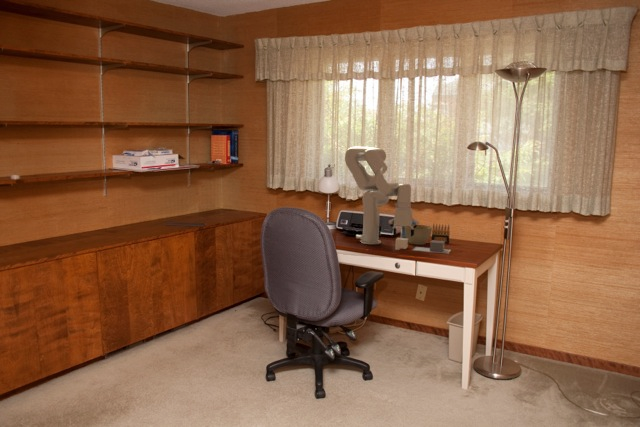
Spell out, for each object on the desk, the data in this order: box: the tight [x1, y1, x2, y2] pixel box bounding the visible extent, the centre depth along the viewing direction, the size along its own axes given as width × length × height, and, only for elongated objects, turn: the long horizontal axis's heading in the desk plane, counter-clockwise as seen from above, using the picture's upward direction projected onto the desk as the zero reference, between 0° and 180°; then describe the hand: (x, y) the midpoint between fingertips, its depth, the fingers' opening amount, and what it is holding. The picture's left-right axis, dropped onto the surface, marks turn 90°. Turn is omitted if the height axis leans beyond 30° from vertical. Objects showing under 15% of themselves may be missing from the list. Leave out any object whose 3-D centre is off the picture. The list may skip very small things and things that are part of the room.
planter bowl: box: [405, 224, 433, 245], centre depth 336 cm, size 16×16×11 cm
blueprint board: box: [411, 246, 452, 255], centre depth 316 cm, size 20×12×1 cm, turn 71°
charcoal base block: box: [429, 240, 446, 253], centre depth 315 cm, size 7×7×5 cm
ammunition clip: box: [430, 223, 451, 245], centre depth 343 cm, size 11×2×12 cm, turn 75°
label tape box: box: [400, 222, 416, 238], centre depth 356 cm, size 9×4×12 cm, turn 93°
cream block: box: [394, 237, 409, 251], centre depth 322 cm, size 6×6×6 cm
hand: (403, 235), depth 320 cm, fingers open, 9 cm apart
